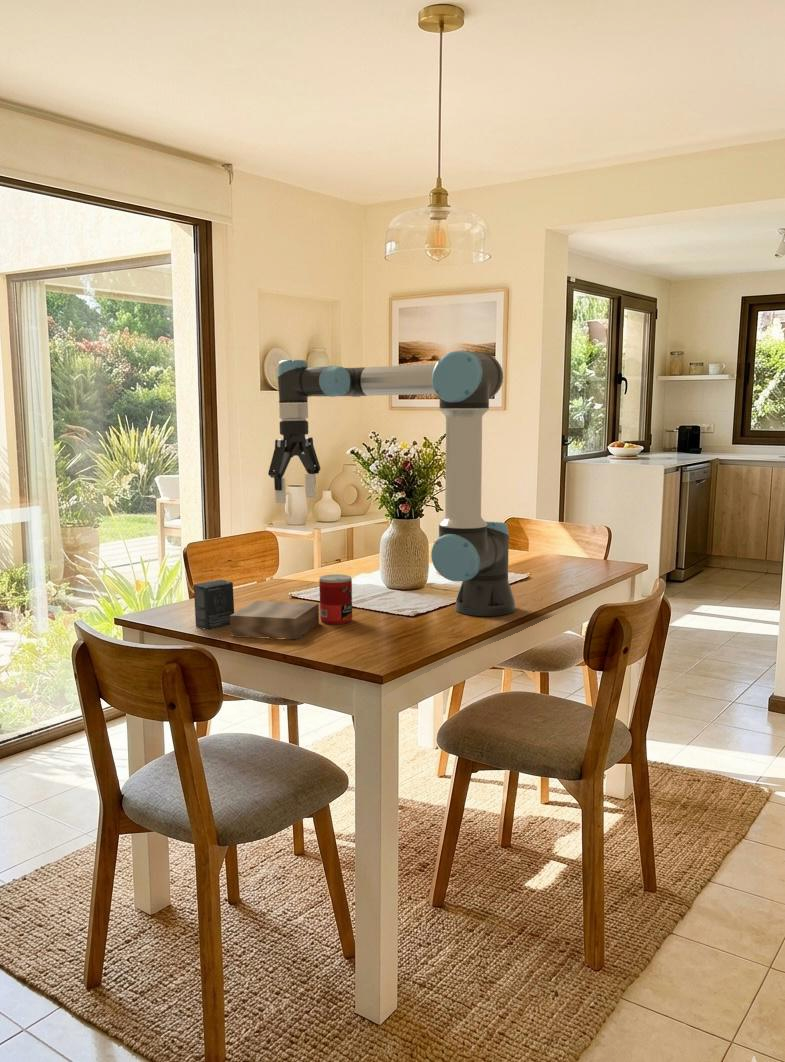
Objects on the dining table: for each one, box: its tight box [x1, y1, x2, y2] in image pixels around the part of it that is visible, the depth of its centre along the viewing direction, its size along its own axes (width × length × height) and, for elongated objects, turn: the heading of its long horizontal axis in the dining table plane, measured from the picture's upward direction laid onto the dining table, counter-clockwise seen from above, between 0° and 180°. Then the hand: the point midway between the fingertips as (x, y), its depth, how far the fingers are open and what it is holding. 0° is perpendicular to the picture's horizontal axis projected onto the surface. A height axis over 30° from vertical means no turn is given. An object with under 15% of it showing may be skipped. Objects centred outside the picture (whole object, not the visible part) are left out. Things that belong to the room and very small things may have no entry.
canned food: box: [318, 574, 353, 625], centre depth 224 cm, size 8×8×11 cm
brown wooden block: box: [229, 600, 320, 640], centre depth 216 cm, size 16×16×5 cm
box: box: [193, 579, 235, 630], centre depth 221 cm, size 8×6×11 cm
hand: (296, 500), depth 243 cm, fingers open, 13 cm apart
